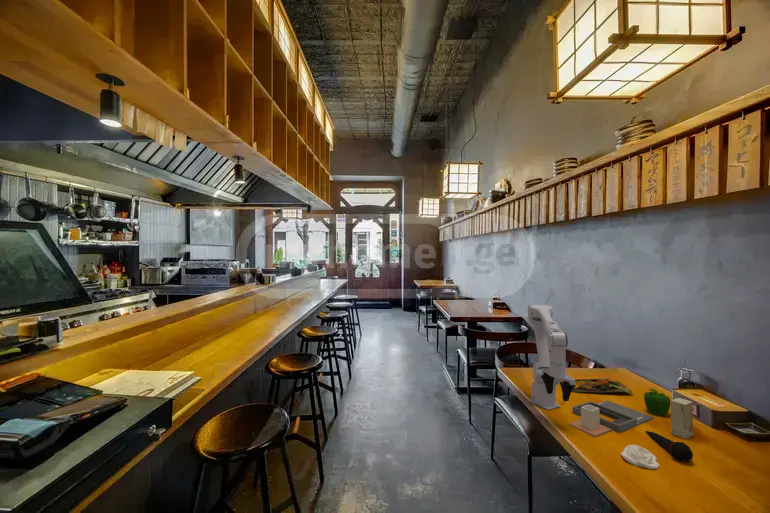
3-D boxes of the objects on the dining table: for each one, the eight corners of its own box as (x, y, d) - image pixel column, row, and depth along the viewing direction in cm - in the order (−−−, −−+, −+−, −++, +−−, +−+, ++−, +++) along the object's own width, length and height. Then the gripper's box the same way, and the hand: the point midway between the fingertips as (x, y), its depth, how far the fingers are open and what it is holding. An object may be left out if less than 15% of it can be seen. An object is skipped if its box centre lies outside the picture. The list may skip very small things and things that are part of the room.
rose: (636, 437, 111) (667, 453, 102) (636, 450, 111) (667, 467, 102) (613, 441, 109) (643, 458, 99) (613, 455, 109) (643, 473, 99)
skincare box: (685, 439, 117) (684, 404, 118) (670, 434, 121) (669, 400, 121) (693, 435, 120) (693, 401, 121) (678, 429, 124) (678, 397, 124)
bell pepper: (671, 413, 138) (670, 388, 138) (670, 420, 132) (669, 394, 132) (645, 407, 144) (645, 383, 144) (643, 413, 138) (643, 389, 138)
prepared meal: (569, 385, 159) (556, 372, 177) (569, 393, 159) (556, 379, 177) (634, 391, 155) (614, 377, 172) (633, 399, 155) (614, 384, 172)
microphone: (642, 441, 122) (683, 467, 103) (635, 425, 123) (674, 448, 104) (657, 437, 122) (701, 463, 102) (650, 421, 123) (692, 443, 103)
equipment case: (571, 413, 138) (571, 407, 138) (607, 401, 149) (607, 396, 149) (617, 433, 122) (617, 426, 122) (654, 418, 133) (654, 412, 133)
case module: (580, 425, 126) (580, 406, 126) (589, 422, 129) (589, 404, 129) (591, 430, 123) (591, 410, 123) (599, 427, 125) (599, 408, 125)
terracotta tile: (569, 425, 128) (569, 423, 128) (585, 419, 132) (585, 417, 132) (595, 437, 119) (595, 435, 119) (611, 430, 123) (611, 429, 123)
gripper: (581, 366, 126) (581, 402, 126) (550, 356, 140) (550, 389, 139) (567, 368, 123) (567, 405, 123) (537, 358, 137) (537, 391, 137)
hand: (557, 397), depth 131 cm, fingers open, 7 cm apart
